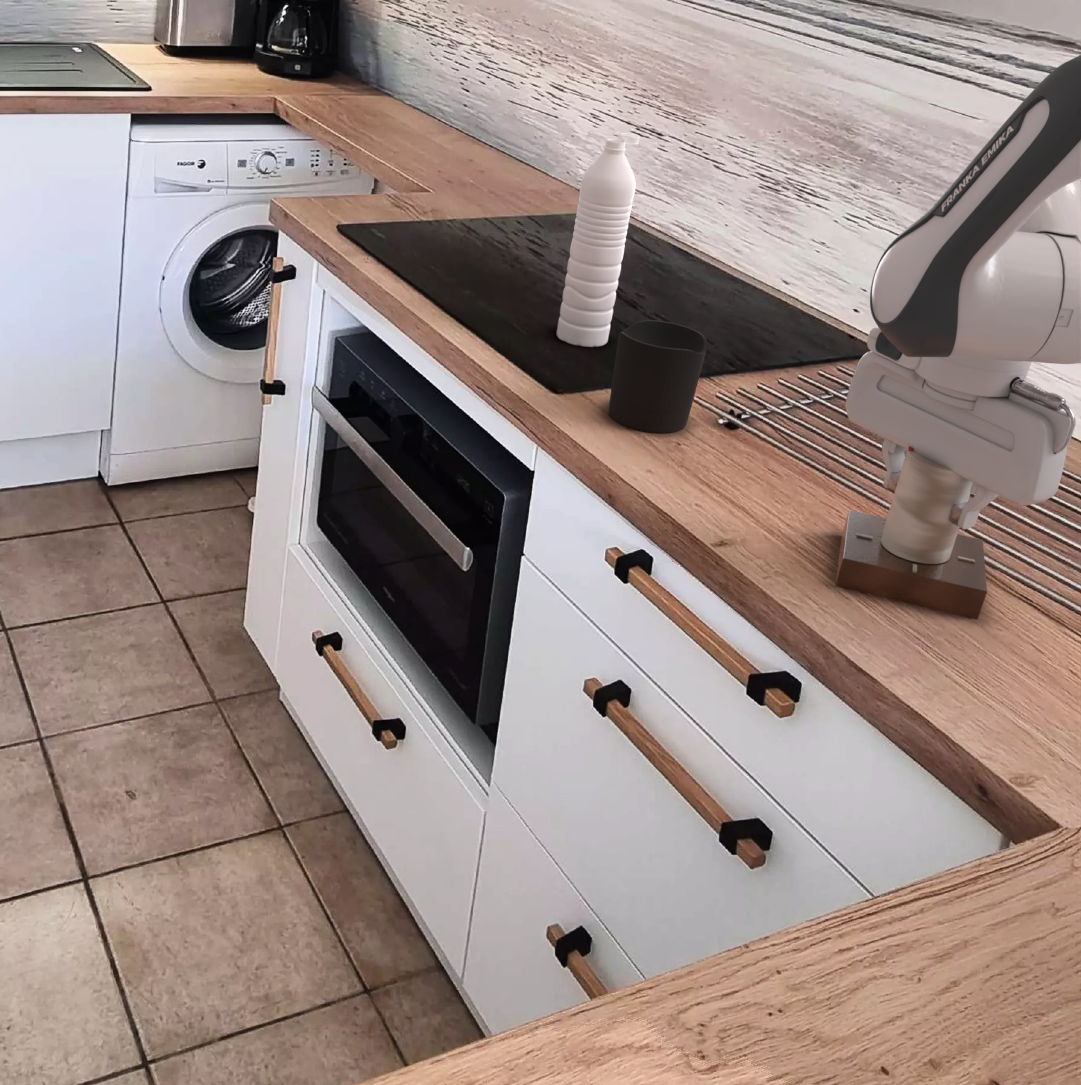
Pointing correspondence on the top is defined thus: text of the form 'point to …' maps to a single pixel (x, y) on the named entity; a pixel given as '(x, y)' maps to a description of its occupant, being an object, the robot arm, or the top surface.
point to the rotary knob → (924, 510)
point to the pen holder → (656, 375)
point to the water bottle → (598, 246)
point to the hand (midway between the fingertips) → (926, 506)
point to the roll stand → (911, 570)
